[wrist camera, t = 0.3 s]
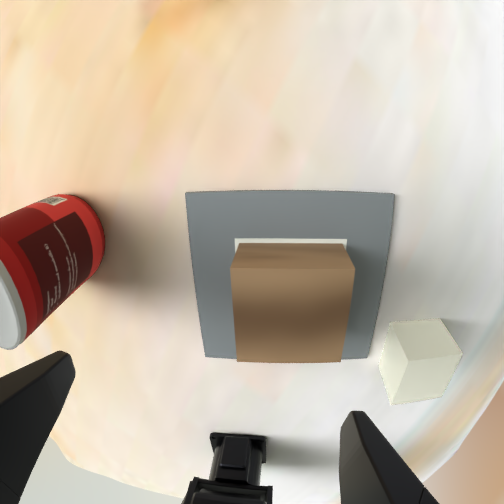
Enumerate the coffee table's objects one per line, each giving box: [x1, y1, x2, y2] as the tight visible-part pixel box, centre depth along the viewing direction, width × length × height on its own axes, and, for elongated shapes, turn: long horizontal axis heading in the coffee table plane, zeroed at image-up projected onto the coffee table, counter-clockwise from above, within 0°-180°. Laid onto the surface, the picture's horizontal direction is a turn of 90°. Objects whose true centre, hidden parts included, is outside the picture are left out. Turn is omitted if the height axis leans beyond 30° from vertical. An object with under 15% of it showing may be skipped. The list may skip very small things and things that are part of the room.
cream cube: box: [378, 318, 463, 405], centre depth 21 cm, size 5×5×5 cm
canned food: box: [0, 194, 105, 350], centre depth 17 cm, size 8×8×11 cm
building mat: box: [185, 190, 394, 359], centre depth 22 cm, size 14×14×1 cm
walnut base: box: [230, 243, 355, 363], centre depth 20 cm, size 7×7×4 cm
